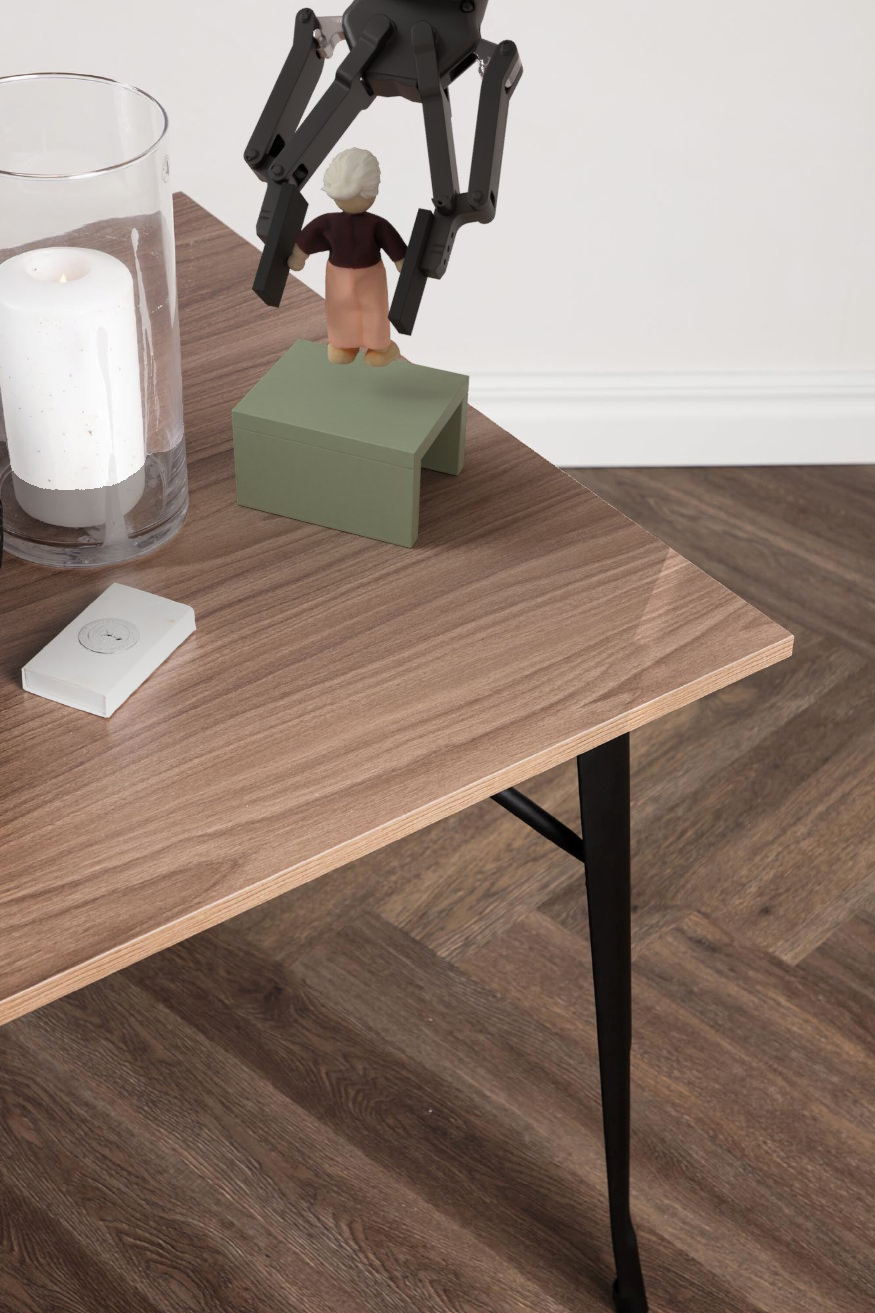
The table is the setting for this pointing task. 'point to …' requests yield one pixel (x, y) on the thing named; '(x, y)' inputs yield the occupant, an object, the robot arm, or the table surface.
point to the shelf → (347, 441)
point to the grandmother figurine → (354, 260)
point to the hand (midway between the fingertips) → (331, 312)
